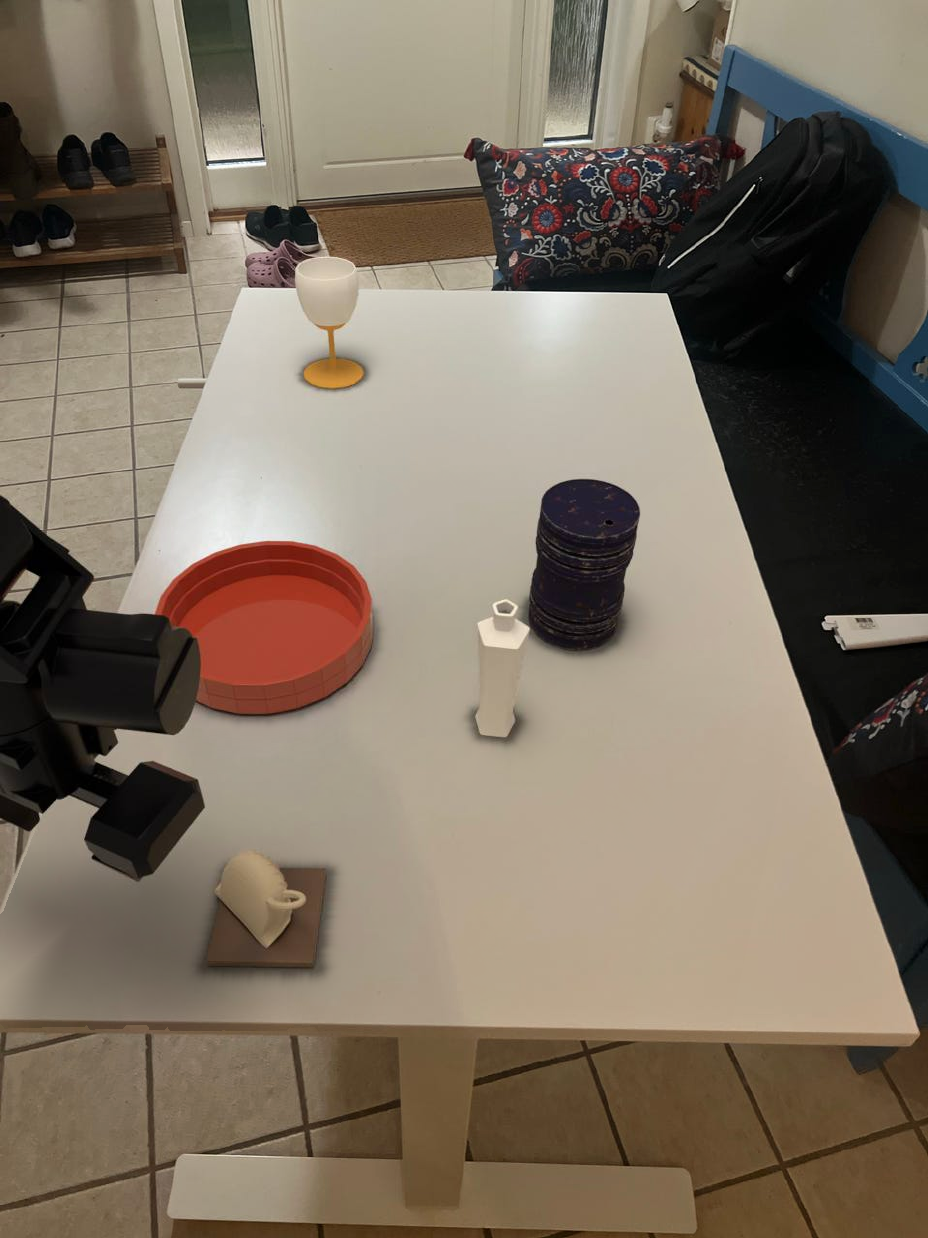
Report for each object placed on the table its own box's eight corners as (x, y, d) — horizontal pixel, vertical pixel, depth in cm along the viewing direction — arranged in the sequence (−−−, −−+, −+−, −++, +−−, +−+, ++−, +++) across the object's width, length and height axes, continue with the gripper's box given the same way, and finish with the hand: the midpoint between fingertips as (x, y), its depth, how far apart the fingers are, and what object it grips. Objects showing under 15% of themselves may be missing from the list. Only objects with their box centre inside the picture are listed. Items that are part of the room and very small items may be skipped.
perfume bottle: (524, 737, 84) (539, 623, 74) (479, 744, 83) (487, 629, 73) (513, 701, 87) (525, 587, 77) (469, 707, 87) (476, 592, 76)
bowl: (366, 717, 85) (364, 685, 82) (140, 716, 84) (130, 684, 81) (377, 573, 101) (376, 542, 98) (187, 570, 100) (180, 539, 97)
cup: (335, 354, 139) (327, 250, 128) (376, 373, 135) (372, 268, 124) (290, 374, 134) (279, 267, 123) (332, 395, 129) (324, 287, 118)
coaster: (207, 966, 67) (205, 961, 66) (228, 871, 73) (226, 866, 72) (313, 968, 67) (312, 963, 67) (325, 873, 73) (325, 868, 72)
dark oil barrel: (509, 607, 97) (519, 495, 87) (579, 578, 101) (597, 467, 91) (564, 664, 91) (582, 550, 81) (636, 630, 95) (663, 518, 85)
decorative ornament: (256, 859, 73) (247, 822, 69) (319, 929, 69) (313, 893, 65) (213, 890, 71) (202, 854, 67) (276, 964, 66) (267, 929, 63)
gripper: (237, 654, 52) (268, 808, 63) (-6, 566, 58) (61, 722, 68) (111, 796, 45) (171, 943, 56) (-156, 681, 50) (-54, 836, 61)
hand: (86, 850), depth 60 cm, fingers open, 9 cm apart
